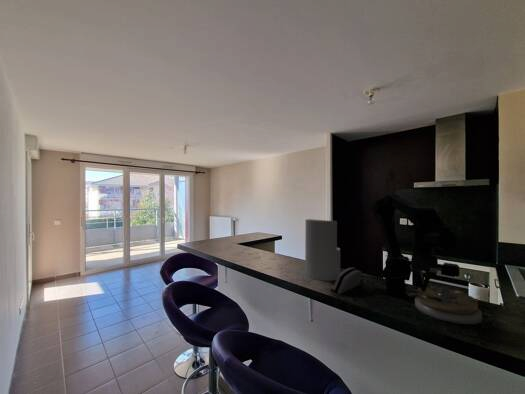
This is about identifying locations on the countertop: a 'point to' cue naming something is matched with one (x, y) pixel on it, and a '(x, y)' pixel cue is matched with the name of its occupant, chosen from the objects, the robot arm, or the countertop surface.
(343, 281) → the dark grey curved piece
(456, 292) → the shallow round tray
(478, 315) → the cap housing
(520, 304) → the countertop surface
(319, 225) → the cylinder
